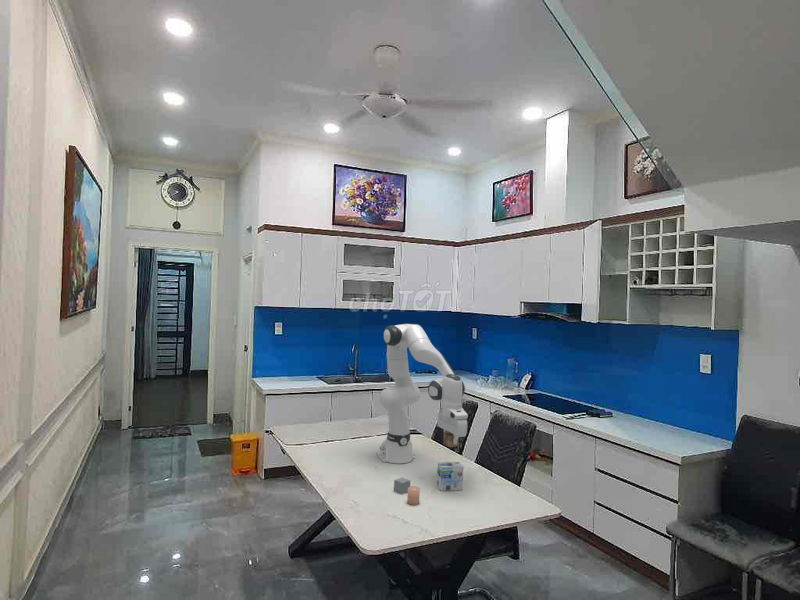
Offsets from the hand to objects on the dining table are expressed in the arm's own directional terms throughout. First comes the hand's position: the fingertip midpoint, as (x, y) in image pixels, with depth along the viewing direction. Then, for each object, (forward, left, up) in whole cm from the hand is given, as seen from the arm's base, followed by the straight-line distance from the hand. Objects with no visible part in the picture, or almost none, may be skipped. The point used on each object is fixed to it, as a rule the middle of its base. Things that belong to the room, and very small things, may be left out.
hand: (450, 441), depth 228 cm
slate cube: (-4, -22, -21) cm, 31 cm away
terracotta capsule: (+9, -23, -21) cm, 32 cm away
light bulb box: (0, 0, -21) cm, 21 cm away
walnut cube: (0, 0, -2) cm, 2 cm away
